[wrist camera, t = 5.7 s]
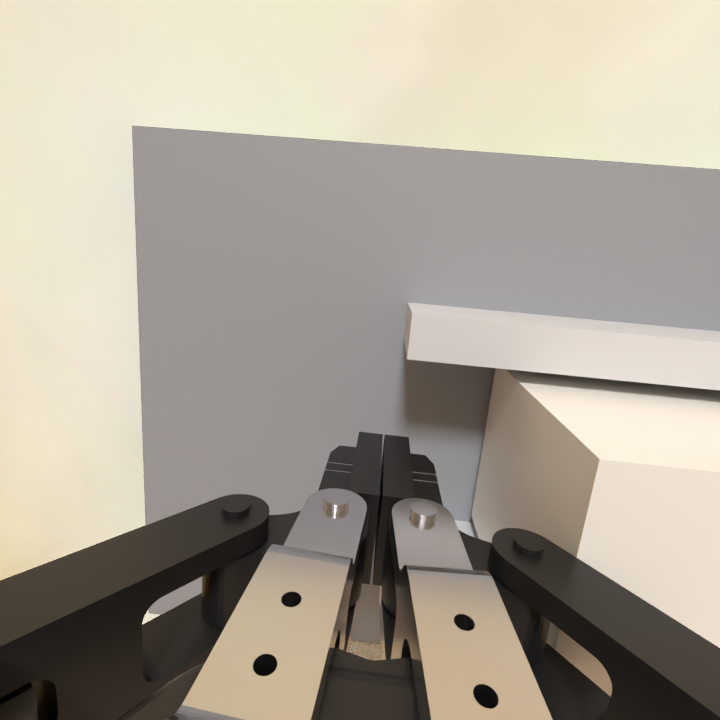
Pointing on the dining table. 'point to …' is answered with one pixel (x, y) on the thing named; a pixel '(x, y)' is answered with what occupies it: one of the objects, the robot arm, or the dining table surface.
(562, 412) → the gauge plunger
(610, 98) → the dining table surface
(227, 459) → the stand
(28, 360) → the dining table surface
